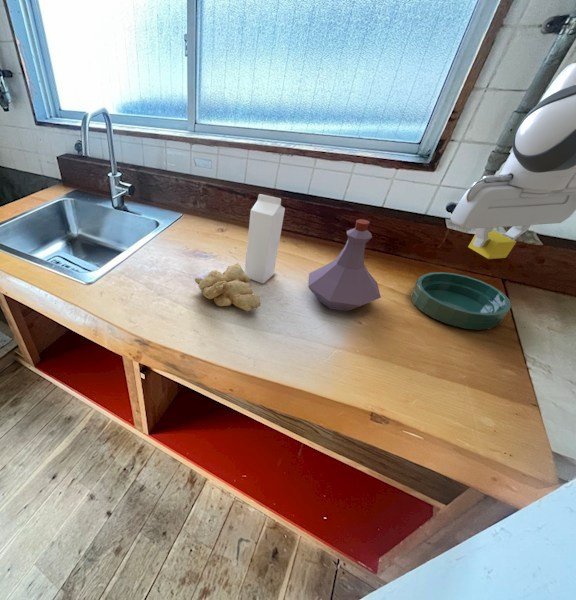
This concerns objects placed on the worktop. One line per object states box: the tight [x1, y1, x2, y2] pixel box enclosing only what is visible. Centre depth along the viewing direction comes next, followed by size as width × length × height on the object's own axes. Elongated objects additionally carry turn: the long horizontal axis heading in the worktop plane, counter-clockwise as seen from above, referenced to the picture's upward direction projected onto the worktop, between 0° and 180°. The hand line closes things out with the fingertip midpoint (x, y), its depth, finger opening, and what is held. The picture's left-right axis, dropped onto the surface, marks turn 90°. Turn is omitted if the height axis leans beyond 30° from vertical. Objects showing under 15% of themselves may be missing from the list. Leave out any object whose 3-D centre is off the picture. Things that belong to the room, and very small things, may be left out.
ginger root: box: [194, 263, 262, 312], centre depth 79 cm, size 16×16×8 cm
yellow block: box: [467, 229, 517, 260], centre depth 63 cm, size 5×4×4 cm
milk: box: [243, 193, 286, 285], centre depth 82 cm, size 6×6×22 cm
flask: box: [307, 218, 382, 312], centre depth 72 cm, size 16×16×20 cm
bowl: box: [410, 271, 512, 331], centre depth 73 cm, size 17×17×4 cm
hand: (491, 245), depth 63 cm, fingers closed on yellow block, 3 cm apart
